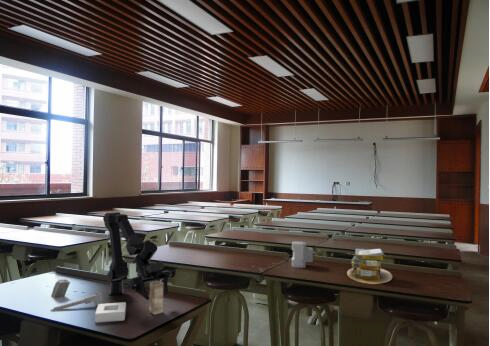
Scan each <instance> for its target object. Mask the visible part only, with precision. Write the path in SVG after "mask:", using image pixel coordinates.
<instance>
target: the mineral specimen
mask: <svg viewBox="0 0 490 346" xmlns="http://www.w3.org/2000/svg"><path fill="white" fill-rule="evenodd" d="M70 284H71V281H70V280H68V279H58V280H57V281H56V282H55V284H54V286H53V289H52V292H51V297H52V299H54V300H55V299H60V298H62V297H63V298H64V297H65V296H66V294H67V292H68V288H69V286H70Z"/></svg>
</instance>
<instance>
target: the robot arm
mask: <svg viewBox="0 0 490 346" xmlns="http://www.w3.org/2000/svg"><path fill="white" fill-rule="evenodd" d="M102 219H103V223H104V227H105V228H106V230H107V231H108V234H109V243H110V253H111V263H110V264H109V271H108V272H107V274H106V276H105V280H106V282H108V283H110V290H109V293H108V296H117V295H118V296H119V295H123V294H124V291H125V289H124V287H123V286H124V281H125V280H128V276H129V271H130V270H129V265H128V261H125V259H124V257H123V250H122V241H121V233H122V235H123V237H124V239H125V241H126V245H125V248H126V252H127V254H128V255H129V256H135V257H133V260H132V264H133V265H134V264H135V265H136V266H137V269H138V272H137V274H138V275H139V276H134V277H132V278H131V280H130V281H129V282H128V284H127V286H128V290H129V291H133V292H136V293H137V294H139V295H140V296H142V297H143V298H145V300H147V301H150V295H149V293H148V292H147V289H146V286H145V284H148V283H151V282H155V281H160V282H162V283H163V294H165V296H169V295H168V294H169V288H168V287H169V285H168V281H169V280H170V278H171V277H172V275H173V273H172V272H171V271H170V270H163V271H162V269H164V268H165V263H164V261H163V260H159V261H157V262H155V263H151V261H150V260H151V259H152V258H153V257H154V255H155V254H156V253H157V251H158V245H157V244H156V243H154V242H152V241H151V240H149V239H147V240H145V241H144V240H143V239H142V238H141V237H139V236H138V235H137V234H136V232H135V230H134V228H133V227H132V224H131V223H130V220H129V216H128V214H125V213H121V212H119V211H115V212H114V211H113V212H105V214H104V215H103V216H102ZM160 271H161V272H160ZM159 272H160V273H159Z"/></svg>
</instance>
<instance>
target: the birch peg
mask: <svg viewBox="0 0 490 346" xmlns="http://www.w3.org/2000/svg"><path fill="white" fill-rule="evenodd" d="M148 312H149V313H150V314H153V315H154V316H155V315H158V314H161V313H164V291H163V283H162V282H160V281H158V280H156V281H152V282H149V311H148Z"/></svg>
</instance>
